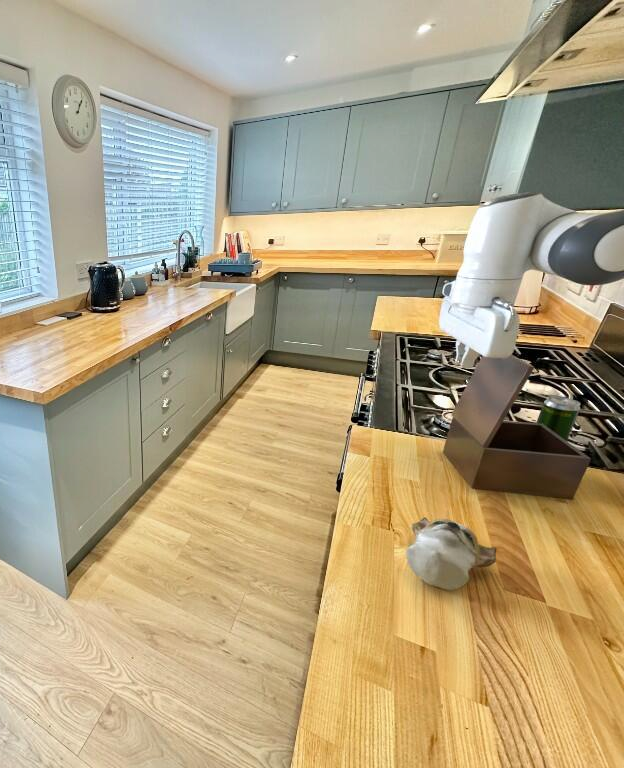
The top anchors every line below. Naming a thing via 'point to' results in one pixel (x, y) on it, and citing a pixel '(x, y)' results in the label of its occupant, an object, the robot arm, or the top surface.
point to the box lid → (491, 395)
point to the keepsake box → (518, 460)
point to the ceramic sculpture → (446, 553)
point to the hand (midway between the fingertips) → (463, 365)
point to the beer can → (559, 415)
